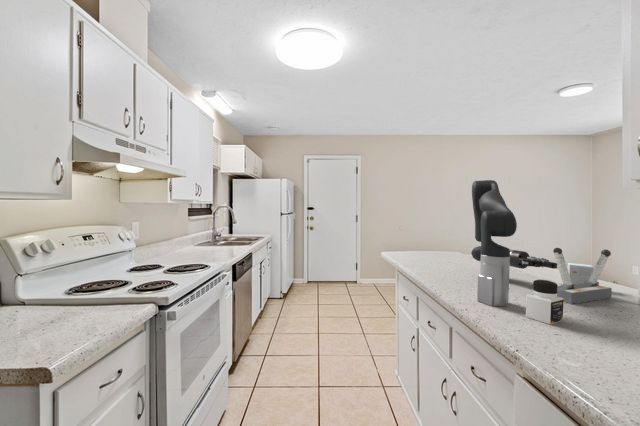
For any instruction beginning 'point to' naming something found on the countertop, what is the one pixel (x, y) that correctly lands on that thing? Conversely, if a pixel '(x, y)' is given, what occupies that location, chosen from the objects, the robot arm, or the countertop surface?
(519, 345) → the countertop surface
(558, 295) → the switch console
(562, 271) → the lever
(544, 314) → the medicine bottle
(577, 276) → the small box
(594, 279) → the lever
